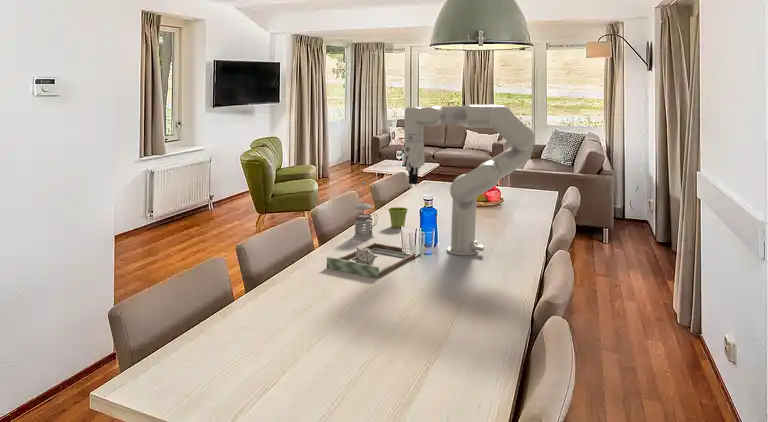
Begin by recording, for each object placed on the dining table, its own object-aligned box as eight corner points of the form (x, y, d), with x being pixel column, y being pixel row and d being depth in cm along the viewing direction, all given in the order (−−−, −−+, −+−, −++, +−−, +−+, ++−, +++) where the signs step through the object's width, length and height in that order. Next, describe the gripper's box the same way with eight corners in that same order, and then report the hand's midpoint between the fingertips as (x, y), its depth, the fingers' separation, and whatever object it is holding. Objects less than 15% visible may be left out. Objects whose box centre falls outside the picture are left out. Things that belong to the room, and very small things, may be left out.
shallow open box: (421, 254, 213) (421, 244, 212) (377, 278, 185) (377, 267, 185) (374, 246, 224) (374, 237, 223) (326, 267, 197) (326, 257, 196)
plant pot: (386, 224, 261) (386, 207, 259) (404, 223, 263) (404, 206, 261) (390, 229, 252) (390, 211, 250) (409, 228, 254) (410, 210, 252)
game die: (368, 279, 195) (373, 263, 188) (347, 270, 196) (351, 254, 189) (376, 261, 202) (382, 246, 194) (356, 253, 202) (360, 236, 195)
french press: (360, 232, 246) (360, 179, 240) (382, 236, 240) (382, 181, 235) (348, 237, 237) (347, 182, 232) (370, 241, 232) (370, 184, 226)
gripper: (413, 140, 204) (412, 187, 208) (430, 137, 217) (429, 182, 221) (396, 139, 208) (396, 185, 212) (414, 136, 220) (413, 180, 224)
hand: (413, 183), depth 216 cm, fingers closed
